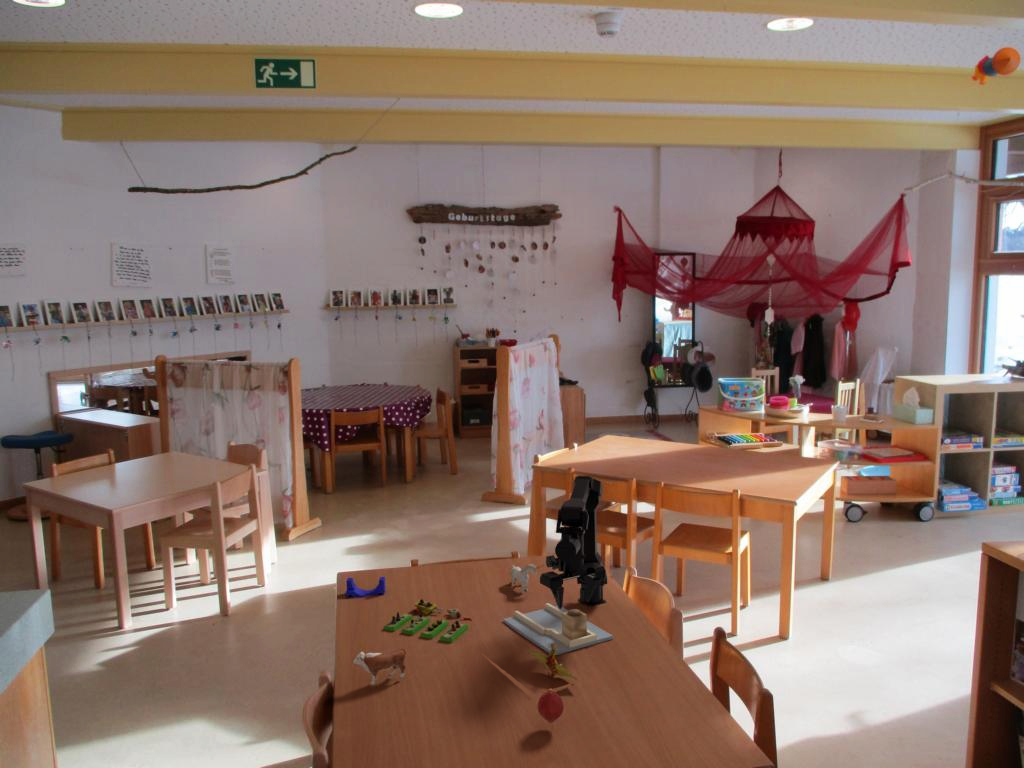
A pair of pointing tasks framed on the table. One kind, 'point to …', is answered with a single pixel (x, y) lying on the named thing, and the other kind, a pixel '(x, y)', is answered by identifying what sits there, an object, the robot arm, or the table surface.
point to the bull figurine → (382, 662)
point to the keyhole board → (553, 630)
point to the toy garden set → (421, 622)
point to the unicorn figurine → (523, 574)
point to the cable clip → (357, 592)
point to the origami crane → (552, 662)
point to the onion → (550, 706)
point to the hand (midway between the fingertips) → (573, 605)
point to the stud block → (574, 624)
